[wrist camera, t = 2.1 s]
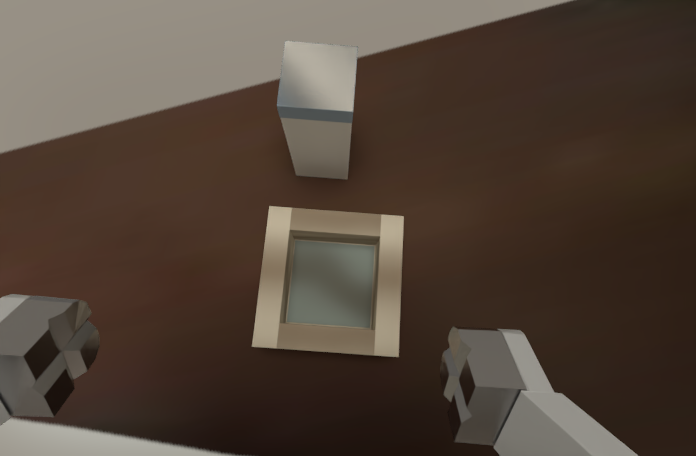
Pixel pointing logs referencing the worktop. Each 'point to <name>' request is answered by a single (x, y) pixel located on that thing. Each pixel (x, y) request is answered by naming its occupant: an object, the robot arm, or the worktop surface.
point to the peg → (318, 106)
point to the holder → (330, 282)
